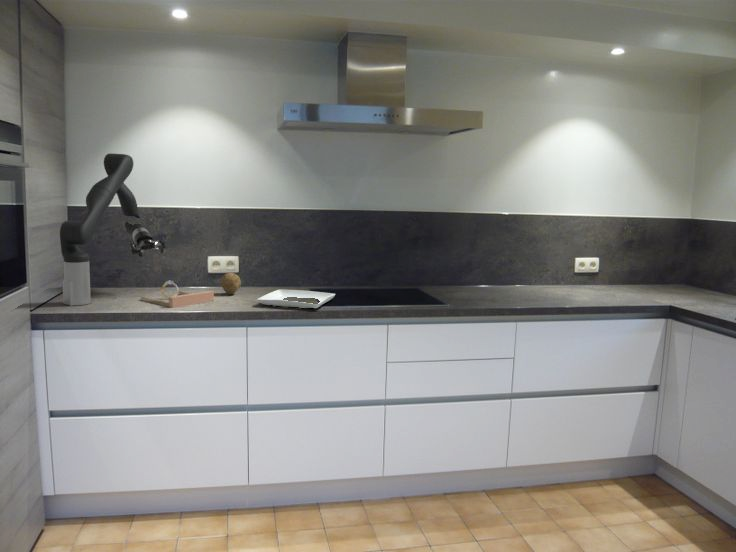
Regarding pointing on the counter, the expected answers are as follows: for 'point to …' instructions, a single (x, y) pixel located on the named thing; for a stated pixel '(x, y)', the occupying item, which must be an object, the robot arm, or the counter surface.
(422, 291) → the counter surface
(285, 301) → the square plate
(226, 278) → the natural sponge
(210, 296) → the bar
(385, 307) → the counter surface
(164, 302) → the birch track
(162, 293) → the ring
